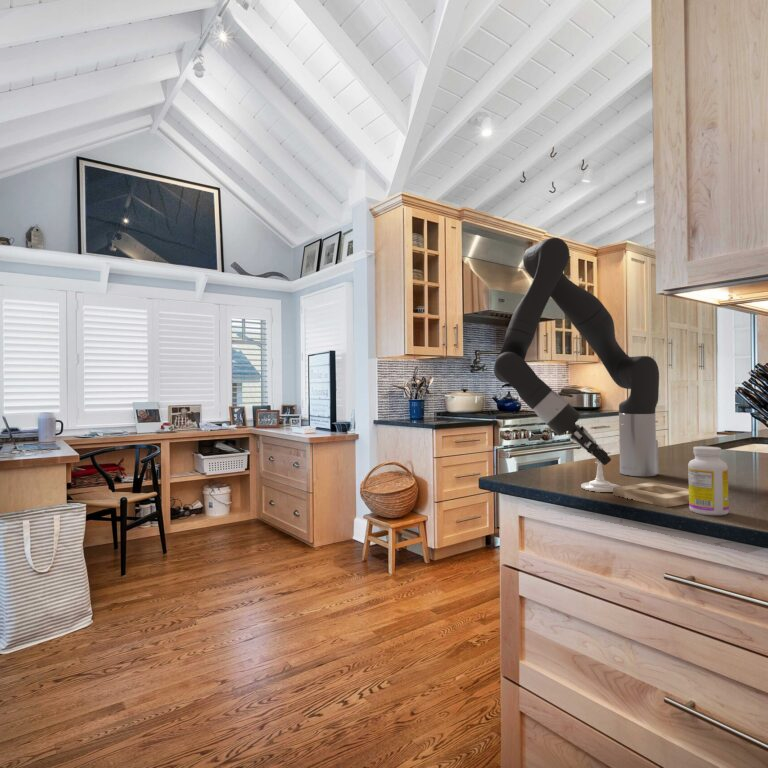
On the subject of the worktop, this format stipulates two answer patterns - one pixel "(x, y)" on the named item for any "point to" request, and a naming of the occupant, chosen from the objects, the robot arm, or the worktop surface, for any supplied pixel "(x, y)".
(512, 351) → the robot arm
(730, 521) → the worktop surface
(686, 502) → the pocket block
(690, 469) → the supplement bottle
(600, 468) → the chess piece
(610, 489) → the coaster
